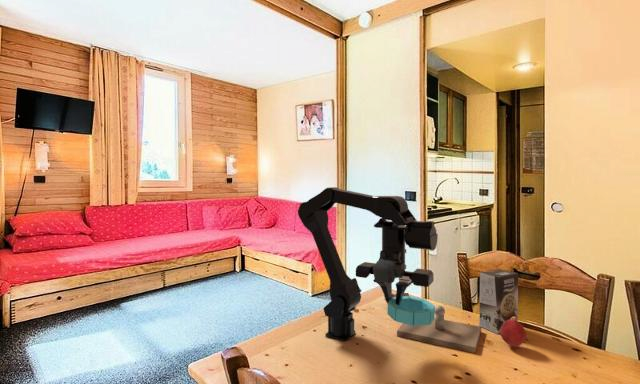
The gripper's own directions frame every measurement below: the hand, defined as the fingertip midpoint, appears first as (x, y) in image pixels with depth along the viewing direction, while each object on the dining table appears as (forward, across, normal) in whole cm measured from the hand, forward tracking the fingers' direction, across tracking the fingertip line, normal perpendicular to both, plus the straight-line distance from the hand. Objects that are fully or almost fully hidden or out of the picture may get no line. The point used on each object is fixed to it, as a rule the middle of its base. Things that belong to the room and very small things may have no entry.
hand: (393, 307), depth 89 cm
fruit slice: (+11, -9, +29) cm, 33 cm away
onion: (+11, +26, +16) cm, 33 cm away
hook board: (+11, +8, +15) cm, 21 cm away
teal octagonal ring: (+1, +4, 0) cm, 5 cm away
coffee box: (+11, +22, +28) cm, 38 cm away
